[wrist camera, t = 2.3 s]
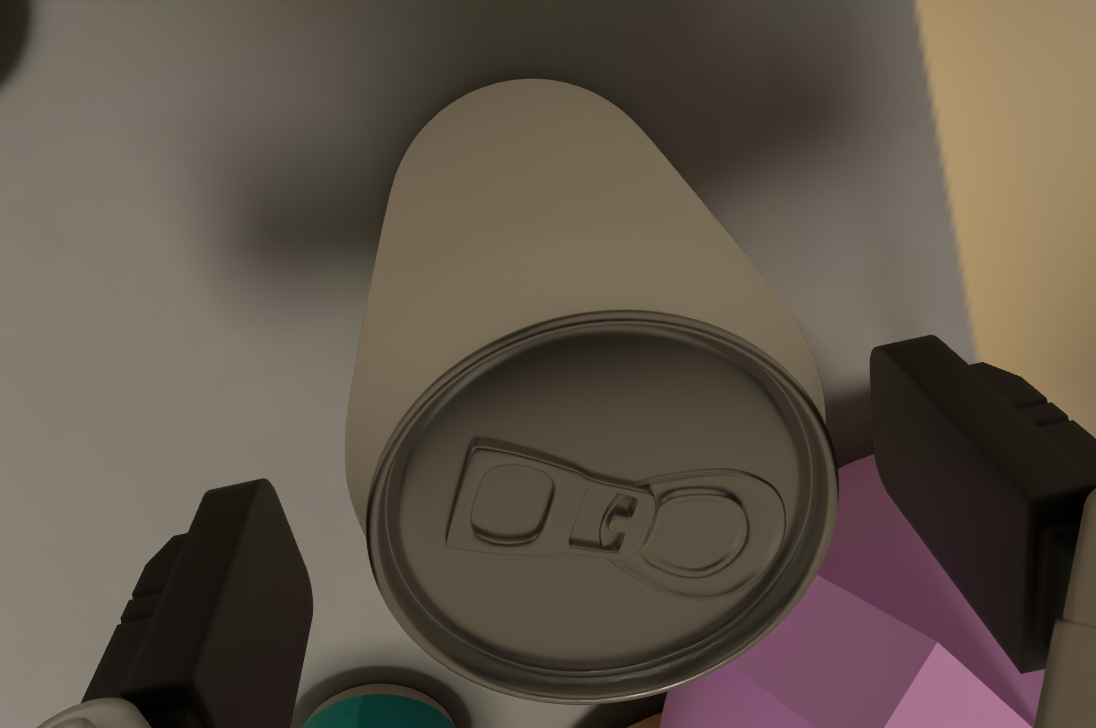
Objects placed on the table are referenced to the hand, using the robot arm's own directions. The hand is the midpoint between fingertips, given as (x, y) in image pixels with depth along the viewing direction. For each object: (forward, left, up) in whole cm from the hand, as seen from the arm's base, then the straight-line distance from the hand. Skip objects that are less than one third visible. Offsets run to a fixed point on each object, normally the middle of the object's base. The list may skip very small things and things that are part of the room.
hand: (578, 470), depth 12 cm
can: (0, 0, -11) cm, 11 cm away
